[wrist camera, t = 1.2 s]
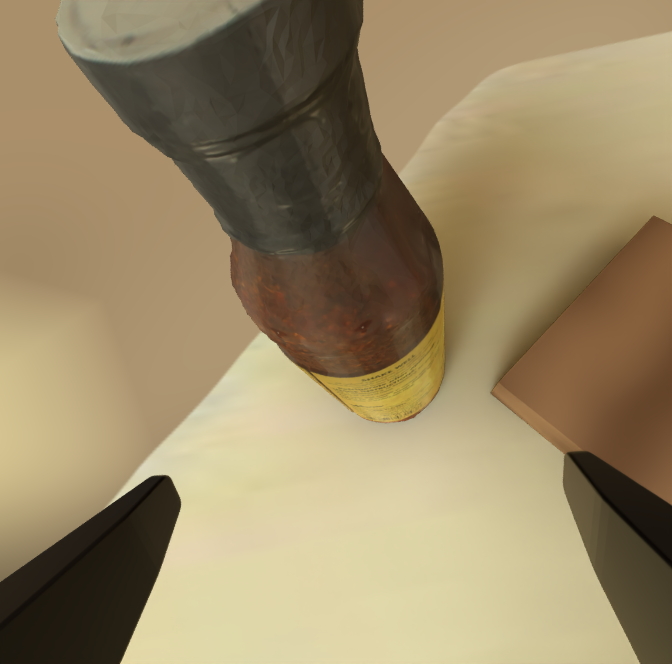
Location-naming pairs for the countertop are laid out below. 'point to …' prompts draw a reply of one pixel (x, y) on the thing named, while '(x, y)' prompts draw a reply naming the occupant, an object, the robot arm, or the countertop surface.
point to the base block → (608, 366)
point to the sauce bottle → (284, 178)
